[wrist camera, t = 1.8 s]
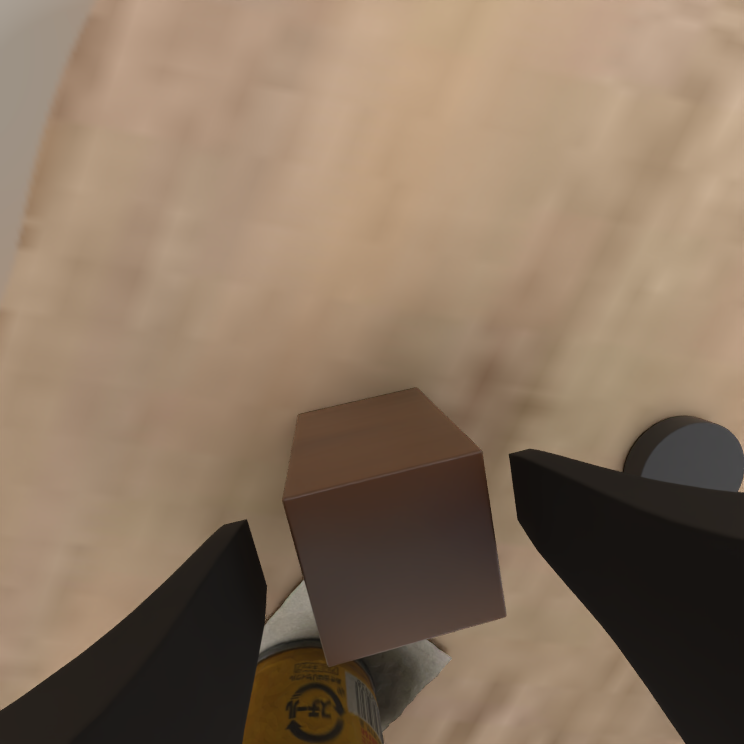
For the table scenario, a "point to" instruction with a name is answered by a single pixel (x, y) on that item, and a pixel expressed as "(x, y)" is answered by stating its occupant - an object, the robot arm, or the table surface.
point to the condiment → (329, 684)
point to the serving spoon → (688, 454)
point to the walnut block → (390, 525)
